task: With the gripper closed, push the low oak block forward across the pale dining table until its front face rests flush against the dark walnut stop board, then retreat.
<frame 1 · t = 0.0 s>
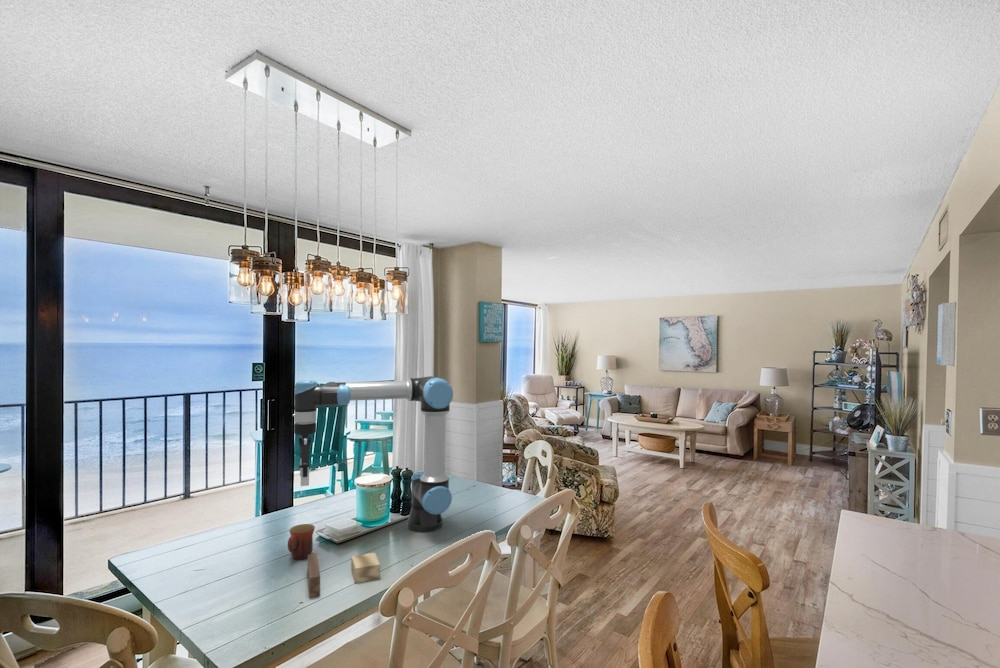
hand: (304, 480, 176), 28 cm above the table, fingers open, 13 cm apart
board: (313, 583, 157), on the table
oak block: (365, 575, 164), on the table
mug: (299, 558, 175), on the table
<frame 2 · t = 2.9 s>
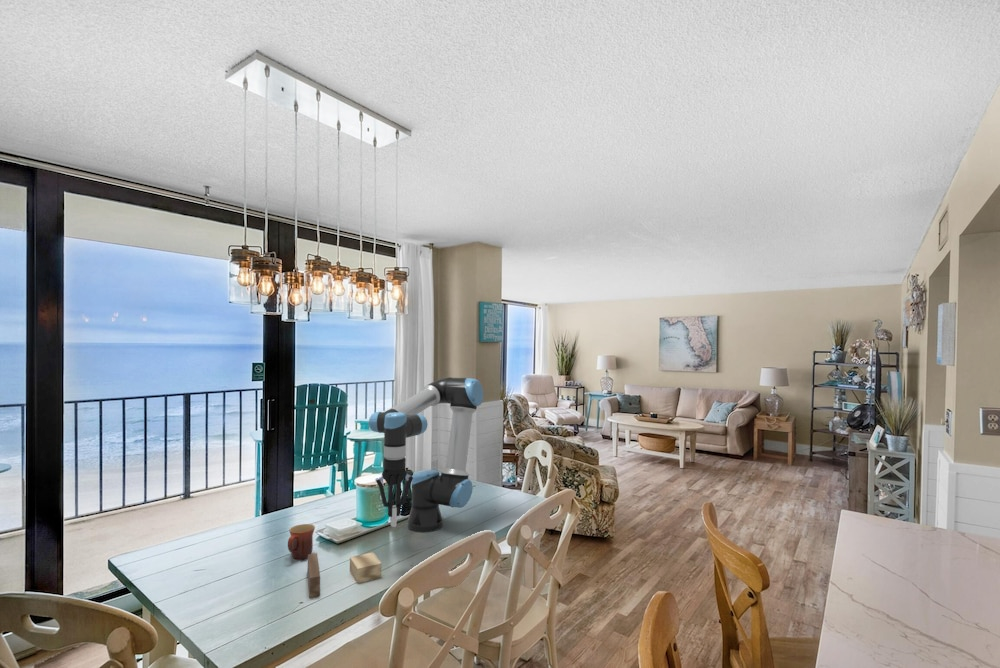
hand: (393, 525, 168), 15 cm above the table, fingers closed
nothing on the table moved.
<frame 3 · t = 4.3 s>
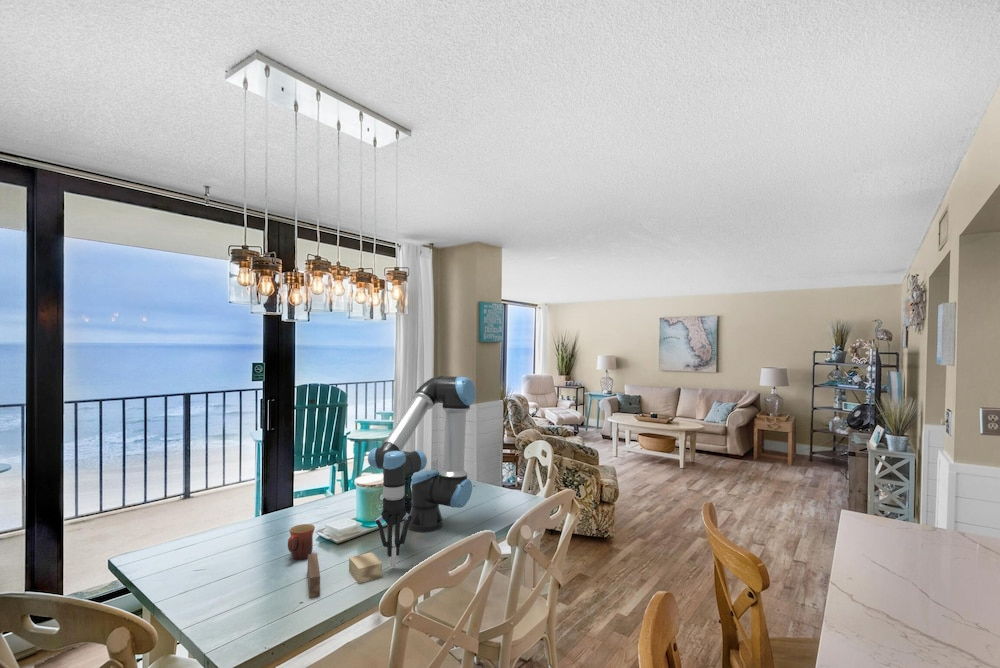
hand: (393, 565, 167), 1 cm above the table, fingers closed
nothing on the table moved.
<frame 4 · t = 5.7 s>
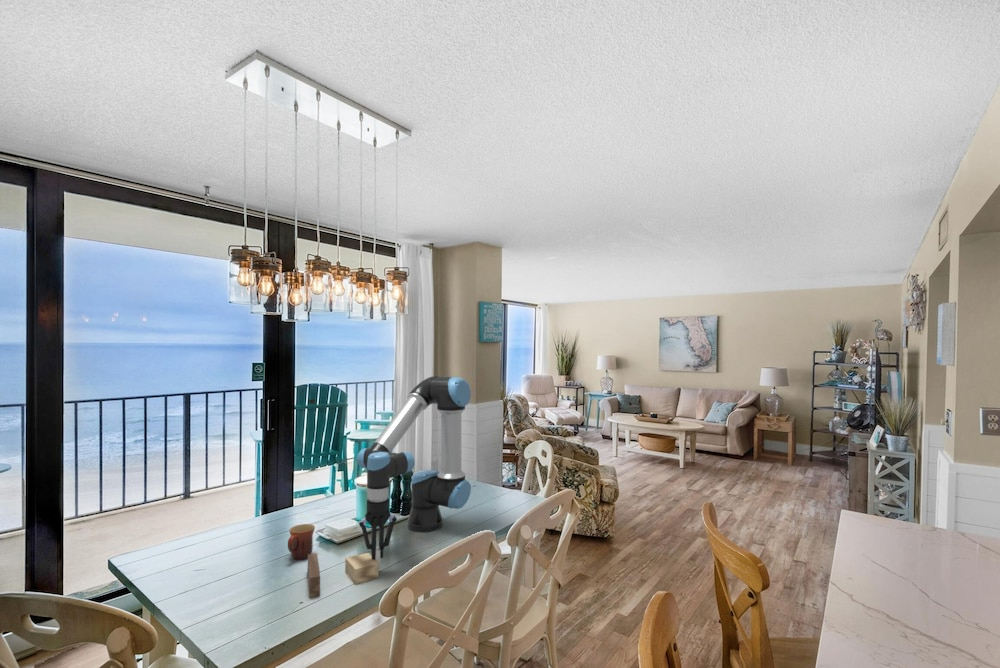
hand: (377, 567, 165), 2 cm above the table, fingers closed
oak block: (361, 575, 163), on the table
everything else where it was.
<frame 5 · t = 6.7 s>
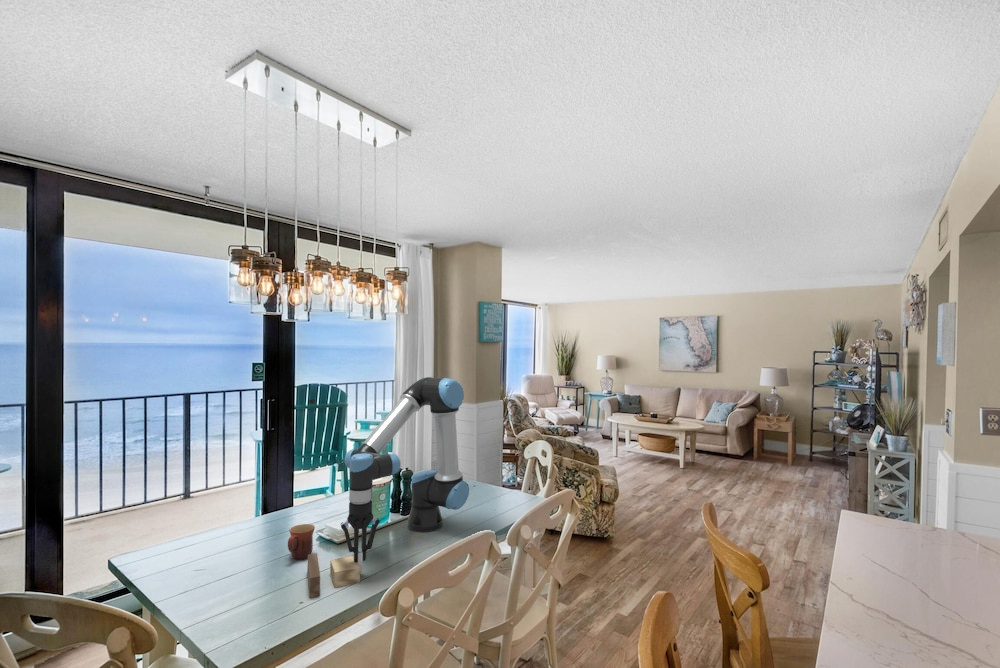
hand: (359, 570, 163), 2 cm above the table, fingers closed
oak block: (344, 578, 161), on the table, touching gripper
everything else where it was.
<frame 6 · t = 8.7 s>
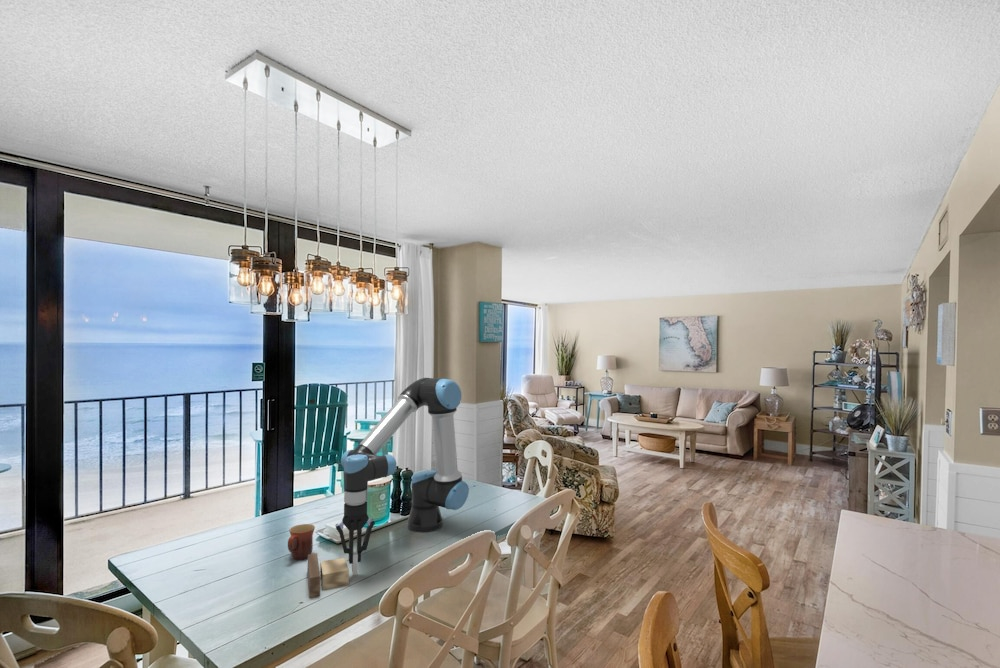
hand: (354, 572, 162), 1 cm above the table, fingers closed
oak block: (334, 580, 159), on the table
everything else where it was.
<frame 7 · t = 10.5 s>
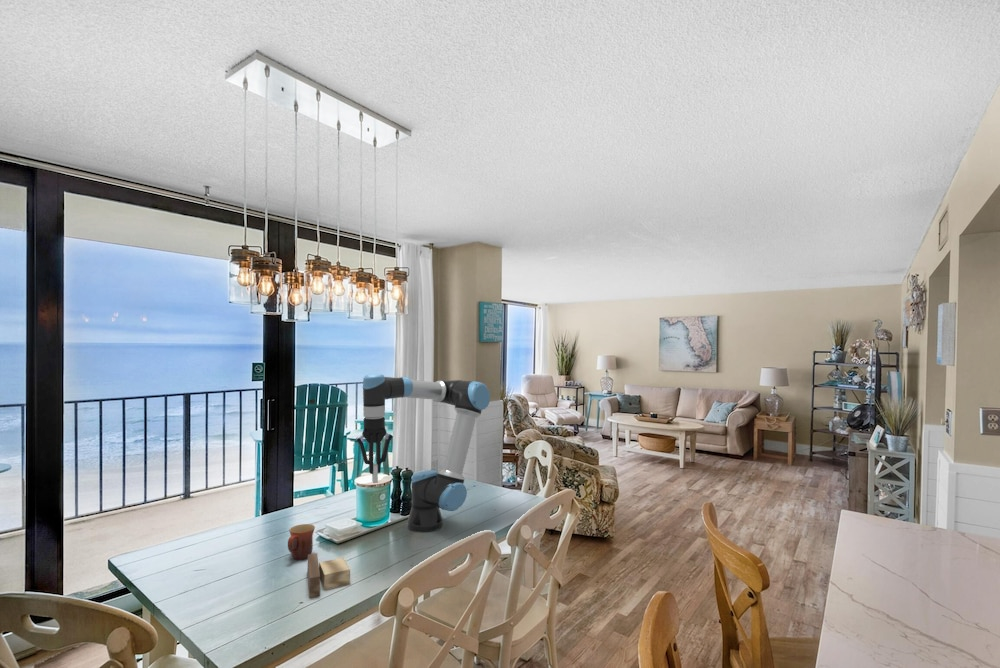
hand: (375, 481, 174), 28 cm above the table, fingers closed
nothing on the table moved.
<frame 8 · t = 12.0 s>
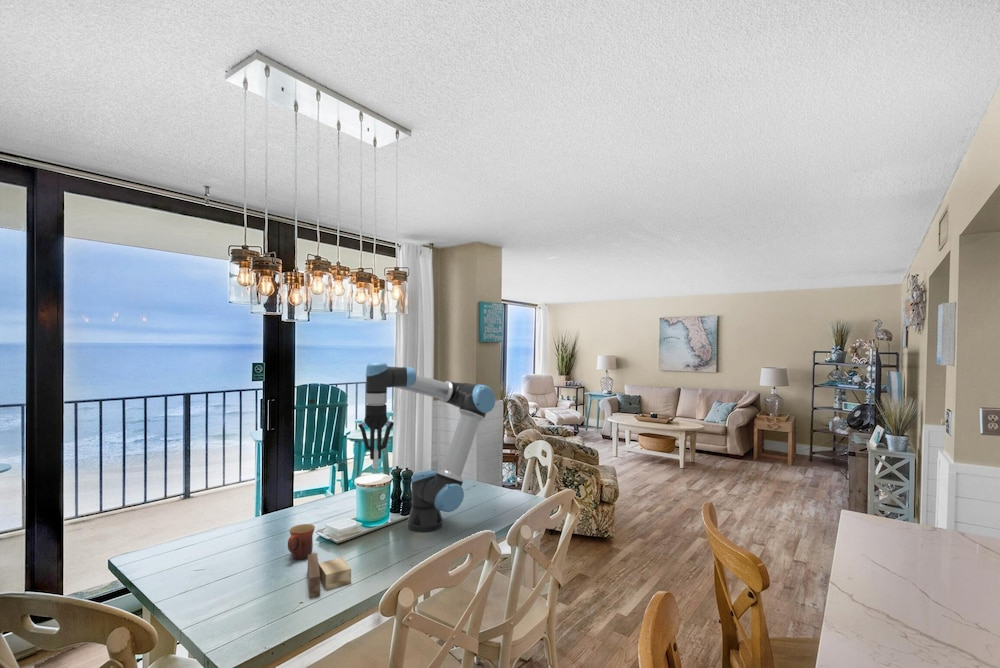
hand: (375, 467, 178), 32 cm above the table, fingers closed
nothing on the table moved.
at the end: oak block 0.4 cm from the target spot on the table beside the board, on the table; oak block tilted 0° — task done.
